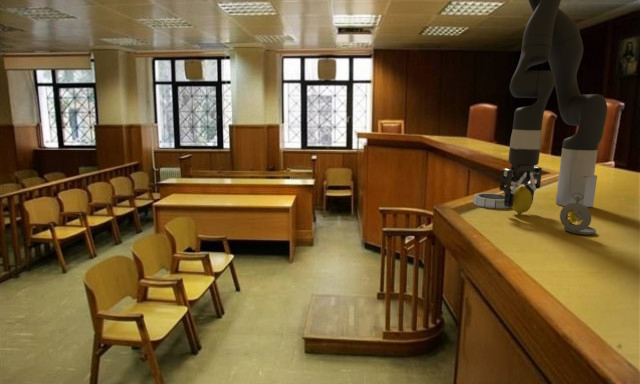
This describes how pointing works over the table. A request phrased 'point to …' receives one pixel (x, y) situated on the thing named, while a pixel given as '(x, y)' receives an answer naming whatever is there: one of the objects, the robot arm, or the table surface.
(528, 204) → the lemon
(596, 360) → the table surface
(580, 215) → the pocket watch
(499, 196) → the grey stone ring
